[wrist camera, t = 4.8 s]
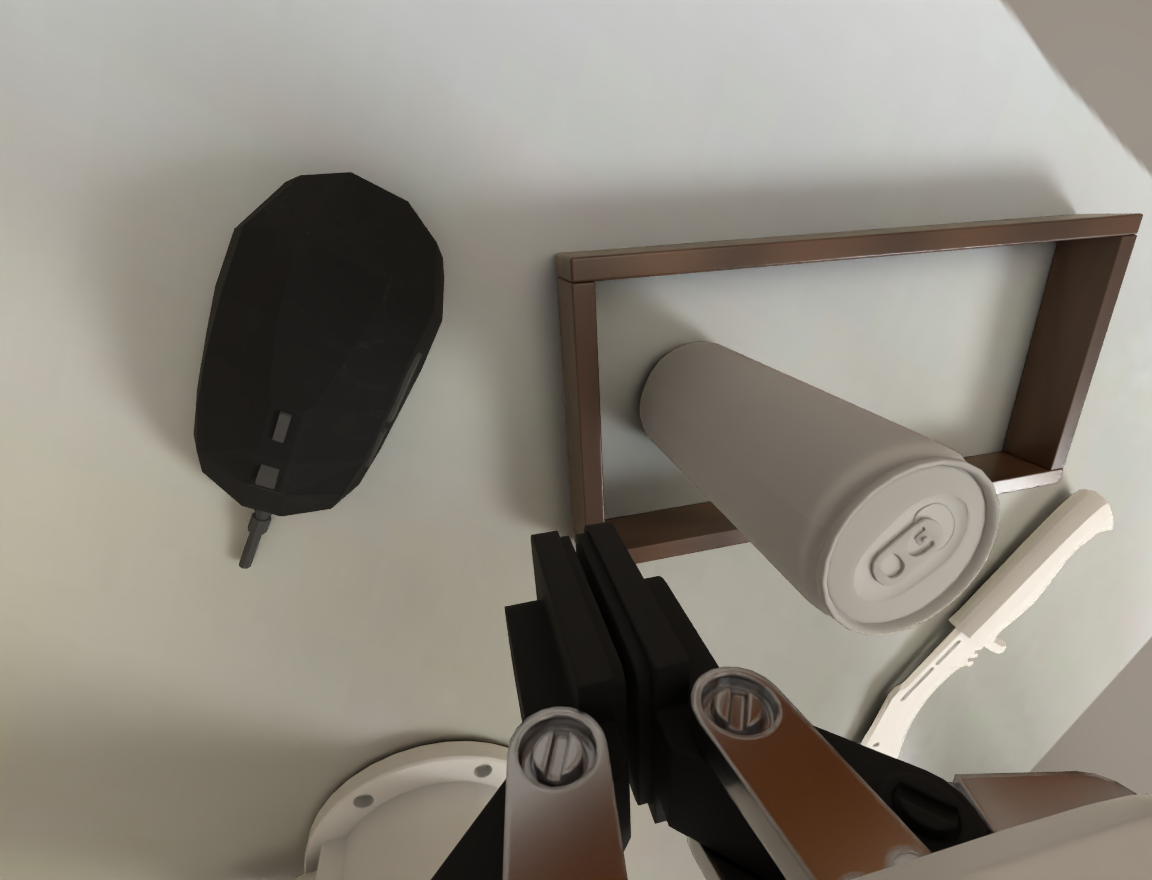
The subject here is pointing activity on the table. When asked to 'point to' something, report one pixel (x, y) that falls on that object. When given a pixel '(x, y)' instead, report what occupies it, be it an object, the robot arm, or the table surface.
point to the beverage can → (824, 487)
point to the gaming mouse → (313, 344)
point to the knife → (992, 611)
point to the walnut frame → (1064, 324)
